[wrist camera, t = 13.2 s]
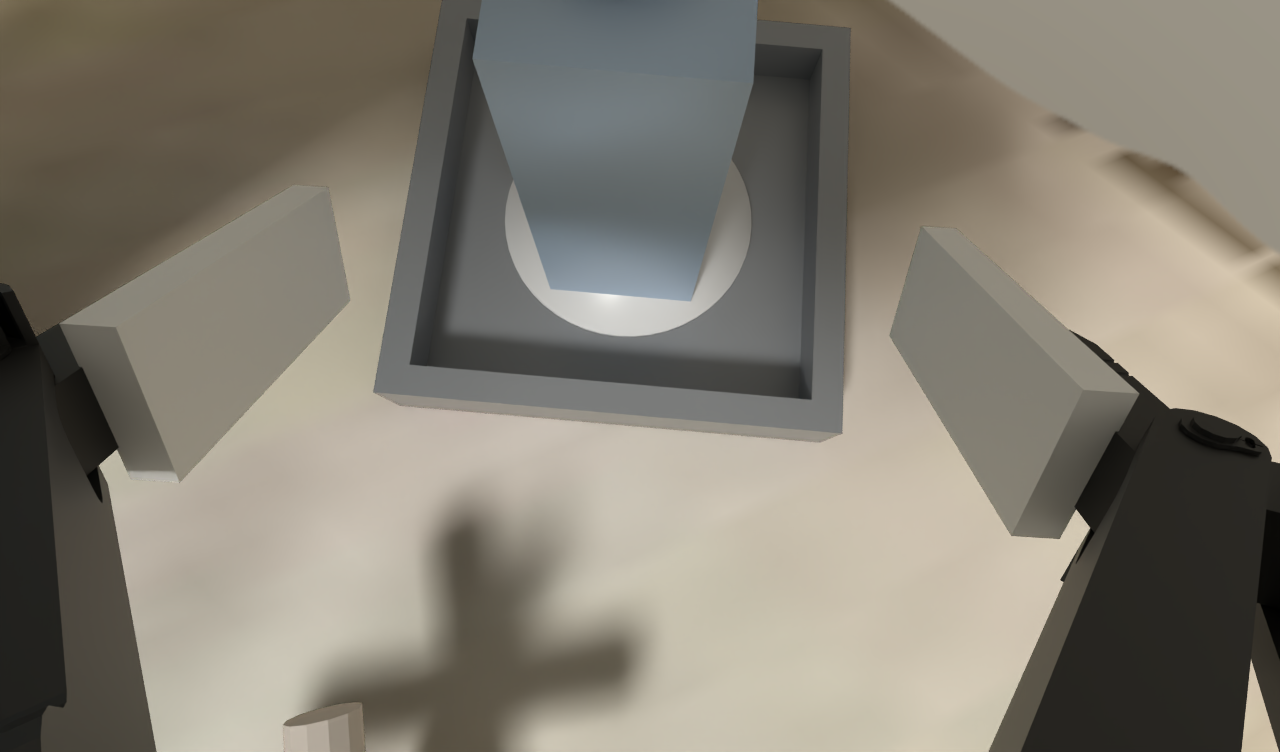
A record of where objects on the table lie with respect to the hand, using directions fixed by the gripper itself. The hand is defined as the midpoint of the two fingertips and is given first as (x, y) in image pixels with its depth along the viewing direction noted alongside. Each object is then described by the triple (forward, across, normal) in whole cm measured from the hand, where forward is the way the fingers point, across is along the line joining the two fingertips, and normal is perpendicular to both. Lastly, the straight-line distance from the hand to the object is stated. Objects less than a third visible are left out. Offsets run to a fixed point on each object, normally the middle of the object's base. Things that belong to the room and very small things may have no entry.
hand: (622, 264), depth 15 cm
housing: (+10, 0, -3) cm, 10 cm away
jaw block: (+9, 0, -2) cm, 10 cm away
